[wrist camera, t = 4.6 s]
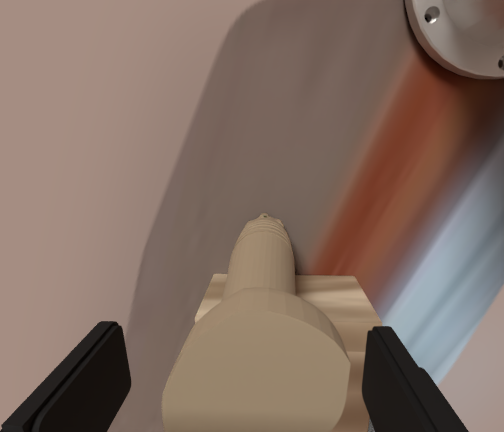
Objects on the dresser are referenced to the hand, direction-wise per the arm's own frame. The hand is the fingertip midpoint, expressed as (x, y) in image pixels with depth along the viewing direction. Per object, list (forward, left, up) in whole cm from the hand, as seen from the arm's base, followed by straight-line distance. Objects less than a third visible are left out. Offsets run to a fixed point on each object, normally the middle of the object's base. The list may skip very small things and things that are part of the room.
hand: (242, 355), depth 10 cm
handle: (-1, 0, -13) cm, 13 cm away
